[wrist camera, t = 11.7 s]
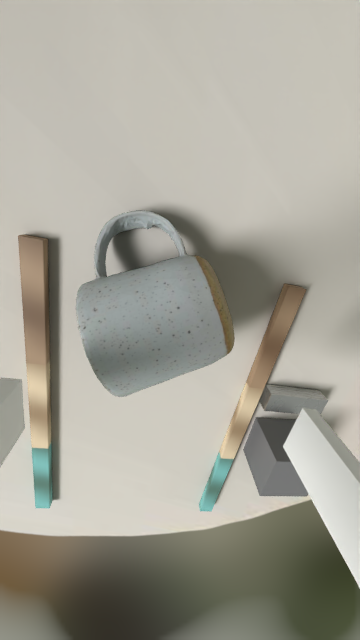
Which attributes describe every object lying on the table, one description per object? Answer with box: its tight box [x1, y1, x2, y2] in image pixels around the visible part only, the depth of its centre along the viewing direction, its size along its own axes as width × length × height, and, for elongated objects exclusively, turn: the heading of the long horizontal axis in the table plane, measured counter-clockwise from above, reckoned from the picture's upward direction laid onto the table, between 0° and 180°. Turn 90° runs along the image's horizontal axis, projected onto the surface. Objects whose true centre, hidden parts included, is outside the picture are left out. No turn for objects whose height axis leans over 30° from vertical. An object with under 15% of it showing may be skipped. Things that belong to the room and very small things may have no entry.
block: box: [243, 418, 308, 496], centre depth 25 cm, size 5×5×5 cm
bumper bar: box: [259, 384, 328, 414], centre depth 24 cm, size 2×6×2 cm, turn 78°
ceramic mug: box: [76, 210, 234, 397], centre depth 15 cm, size 11×8×8 cm
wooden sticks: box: [18, 235, 306, 511], centre depth 23 cm, size 30×21×1 cm
